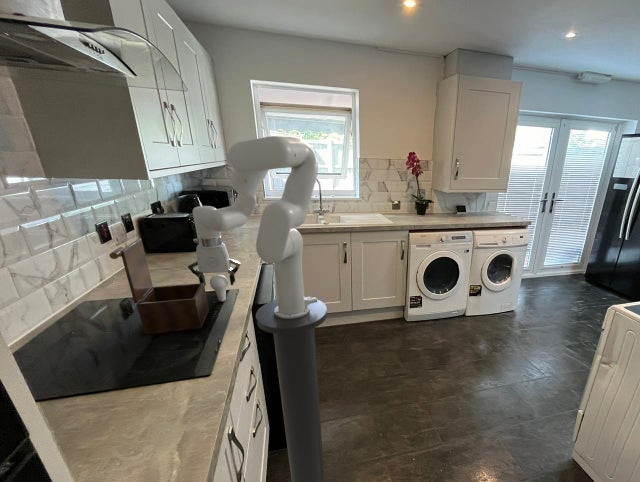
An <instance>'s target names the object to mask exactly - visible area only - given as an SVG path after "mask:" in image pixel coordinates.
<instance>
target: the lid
mask: <svg viewBox="0 0 640 482" xmlns="http://www.w3.org/2000/svg"><path fill="white" fill-rule="evenodd" d="M120 257H121V260H122V263H123V267H124V271H125V273H126V278H127V281H128V285H129V289H130V292H131V296H132V299H133V303H134V304H137V303H138V302H139V301H140V300H141V299H142V297H143V296H144V295H145V294H146V293H147V292H148V291H149V290H150V288H151V287H154V286H153V282H152V281H153V280H152V278H151V274H150V269H149V265H148V261H147V257H146V253H145V249H144V244H143V241H142V238H137V239H136V240H135V241H133V242H131V243H130V244H128V245H127V246H126V247H123V246H120V247H118V248H116V249H114V250H113V251H111V252H110V253H109V258H110V259H112V260H116V259H118V258H120Z"/></svg>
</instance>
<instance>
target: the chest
mask: <svg viewBox="0 0 640 482" xmlns="http://www.w3.org/2000/svg"><path fill="white" fill-rule="evenodd" d="M205 287H206V286H205ZM205 287H204V283H200V282H199V283H188V284H174V285H162V286H152V287H151V288H150V289H149V290H148V291H147V293H146V294H145V295H144V296H143V297H142V298H141V299H140V300H139V301H138V303H135V304H136V308H137V311H138V315H139V317H140V318H139V319H140V321H141V324H142V328H143V331H144V334H145V336H146V335H155V334H164V333H174V332H181V331H191V330H199V329H202V328H203V325H204V324H205V322H206V319H207V316H208V314H209V311H210V307H209V302H208V297H207V293H206V288H205Z"/></svg>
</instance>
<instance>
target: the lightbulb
mask: <svg viewBox="0 0 640 482" xmlns="http://www.w3.org/2000/svg"><path fill="white" fill-rule="evenodd" d="M209 286H210V287H211V289H213V291H214V293H215V294H216V296H217V299H218V301H219V302H224V301H226V300H227V296H226V295H227V288H228V286H229V280H228V277H226V276H225V275H223V274H215V275H213V276H211V278H210V279H209Z"/></svg>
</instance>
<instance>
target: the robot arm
mask: <svg viewBox="0 0 640 482" xmlns="http://www.w3.org/2000/svg"><path fill="white" fill-rule="evenodd" d="M227 158H228V160H227V161H228V162H229V165H230V167H232V169H233V172H232V174H231V176H230V177H229V180H228V181H229V185H230V187H231V188H232V190H234V191H235V192H236V193H237V196H236V198H235V200H234V202H233V203H232V205H230V206H226V207H221V208H216V207H214V206H211V205H200V206H199V205H198V206H195V207H194V208H193V209H192V216H193V221H194V226H195V231H196V236H197V237H196V238H193V243H196V244H197V246H196V261H194V262H192V263H190V264H188V265H187V269H188V270H189V271H190V272H191V273H192V274H193V275H194V276H196V277H197V278H198V281H199V283H204V287H206V285H207V281H206V276H205V274H215V273H216V274H218V273H228V274H229V276H228V277H229V282H230V286H234V283H236V276H235V274H236V273H237V272H238V271H239V269H240V267H241V265H242V264H241V262H240V261H238V260H235V259H232V258H230V256H229V252H228V249H227V246H226V244H225V243H224V242H223V236H222V232H227V231H229V230H230V231H231V230H233V229H236V228H239V227H242V226H244V225H245V224H246V223H247V222H248V221H249V220H250V218H251V216H252V215H253V213H254V211H255V209H256V207H257V192H258V190H259V189H260V187H261V185H262V183H263V182H264V179H265V178H266V176H267V175H268V172H269V171H270V170H278V169H285V168H291V170H290V172H289V175H287V178H286V181H285V184H284V187H283V188H284V189H283V193H282V196H281V198H280V199H279V200H275V201H272V202H270V203H269V204H267V205H266V206H265V207H264V209H263V211H262V214H261V217H260V222H259V227H258V233H257V236H256V241H255V249H256V250H255V251H256V253H257V256H258V257H259V259H260V260H262V261H263V262H265V263H267V264H273V272H274V283H275V291H276V300H278V306H277V307H276V308H275V309H274V313H275V315H276V316H277V317H279V318H283V319H294V318H299V317H302V316H304V315H306V314H307V313H308V312H309V310H310V307H309V305H310V304H311V303H315V302H317V300H318V298H317V297H311V296H305V286H304V284H305V283H304V274H303V272H304V271H303V250H304V241H303V236H302V234H301V232H299V231H298V229H296V228H298V227H301V226H302V225H303V224H304V223H305V222H306V219H307V217H308V212H309V208H310V204H311V200H312V197H313V193H314V188H315V185H316V181H317V178H318V172H319V163H318V158H317V156H316V152H315V151H314V150H313V148H312V146H310V145H309V144H308V143H307V142H306V141H304V140H303V139H300V138H297V137H294V136H293V137H292V136H279V135H278V136H277V135H271V136H263V137H259V138H254V139H249V140H243V141H238V142H236V143H234V144H232V145H231V147H230V148H229V149H228V153H227ZM232 265H235V267H234V268H232V267H231V266H232ZM196 267H197V268H198V269H196ZM305 297H307V298H305Z"/></svg>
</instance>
